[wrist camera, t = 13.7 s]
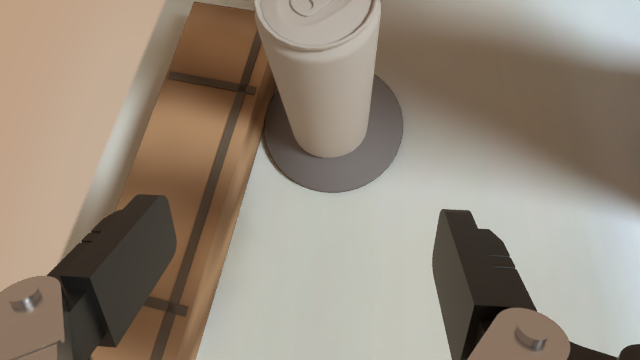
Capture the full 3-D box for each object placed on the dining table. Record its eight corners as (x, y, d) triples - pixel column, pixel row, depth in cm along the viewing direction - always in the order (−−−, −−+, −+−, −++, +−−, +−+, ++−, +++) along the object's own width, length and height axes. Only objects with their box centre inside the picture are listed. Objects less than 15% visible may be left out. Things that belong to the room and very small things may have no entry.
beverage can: (383, 131, 26) (411, -2, 14) (323, 177, 25) (302, 77, 13) (336, 80, 27) (326, -81, 15) (278, 122, 26) (224, -12, 15)
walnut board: (209, 30, 29) (193, 0, 26) (288, 43, 28) (281, 14, 25) (84, 382, 23) (44, 395, 20) (180, 411, 22) (154, 429, 19)
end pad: (373, 49, 28) (373, 46, 27) (423, 165, 25) (425, 163, 25) (250, 90, 27) (248, 87, 27) (288, 212, 25) (287, 210, 25)
